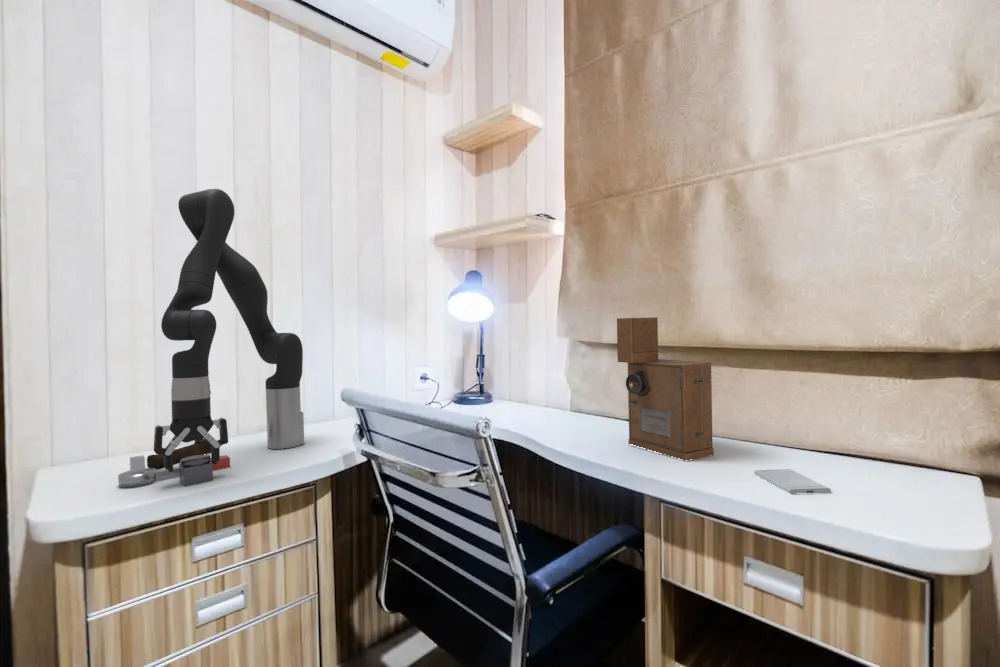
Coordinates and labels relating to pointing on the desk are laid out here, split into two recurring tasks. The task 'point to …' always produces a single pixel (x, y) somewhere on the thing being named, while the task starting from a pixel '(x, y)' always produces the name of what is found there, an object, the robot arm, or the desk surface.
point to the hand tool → (180, 453)
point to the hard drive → (791, 481)
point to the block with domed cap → (195, 470)
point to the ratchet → (155, 472)
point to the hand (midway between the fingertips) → (192, 467)
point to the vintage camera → (664, 394)
